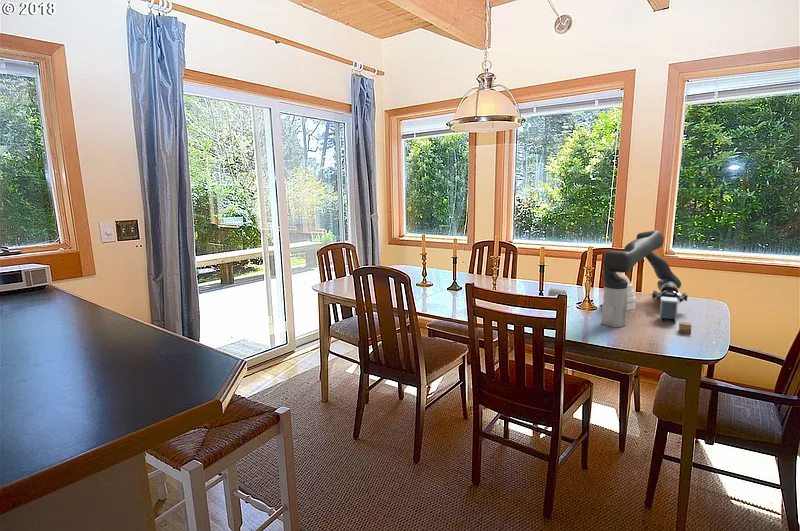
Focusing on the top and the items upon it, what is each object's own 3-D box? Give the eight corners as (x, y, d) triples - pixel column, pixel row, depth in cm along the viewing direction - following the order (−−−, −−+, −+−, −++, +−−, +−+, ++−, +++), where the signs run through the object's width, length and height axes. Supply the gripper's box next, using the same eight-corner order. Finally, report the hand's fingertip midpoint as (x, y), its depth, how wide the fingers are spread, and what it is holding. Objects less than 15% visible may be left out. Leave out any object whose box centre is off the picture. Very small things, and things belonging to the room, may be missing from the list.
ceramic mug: (563, 304, 226) (563, 290, 225) (547, 302, 231) (547, 289, 229) (568, 300, 235) (568, 286, 233) (553, 298, 239) (553, 285, 238)
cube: (690, 334, 176) (691, 325, 175) (679, 333, 178) (679, 323, 177) (690, 331, 179) (690, 322, 178) (678, 330, 181) (679, 321, 180)
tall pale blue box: (676, 323, 190) (677, 301, 188) (659, 321, 193) (661, 300, 191) (675, 318, 195) (677, 297, 194) (659, 317, 199) (661, 296, 197)
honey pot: (603, 306, 219) (604, 272, 216) (613, 301, 228) (615, 268, 224) (629, 311, 210) (631, 275, 206) (639, 305, 218) (641, 271, 215)
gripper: (653, 283, 216) (652, 290, 203) (686, 285, 209) (688, 292, 195) (652, 297, 217) (651, 305, 204) (685, 300, 210) (687, 308, 196)
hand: (669, 299), depth 200 cm, fingers open, 8 cm apart
